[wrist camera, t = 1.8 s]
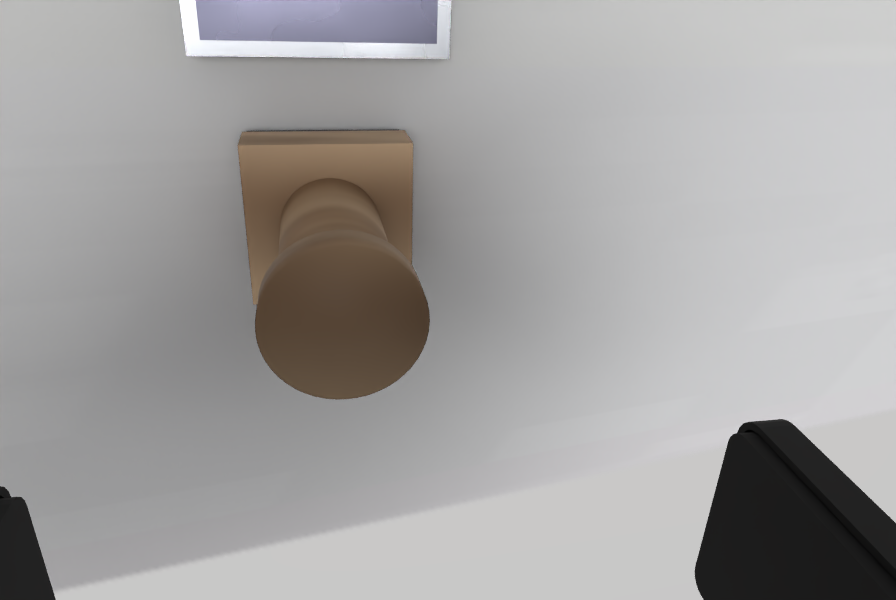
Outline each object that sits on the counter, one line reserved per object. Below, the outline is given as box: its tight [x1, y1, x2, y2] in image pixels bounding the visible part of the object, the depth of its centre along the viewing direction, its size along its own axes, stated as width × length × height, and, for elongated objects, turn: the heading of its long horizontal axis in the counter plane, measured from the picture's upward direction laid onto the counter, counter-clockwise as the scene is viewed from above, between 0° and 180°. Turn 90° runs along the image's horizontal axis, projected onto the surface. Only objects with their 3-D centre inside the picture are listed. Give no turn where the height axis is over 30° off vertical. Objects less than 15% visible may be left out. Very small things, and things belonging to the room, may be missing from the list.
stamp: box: [238, 130, 430, 399], centre depth 19 cm, size 5×5×9 cm
